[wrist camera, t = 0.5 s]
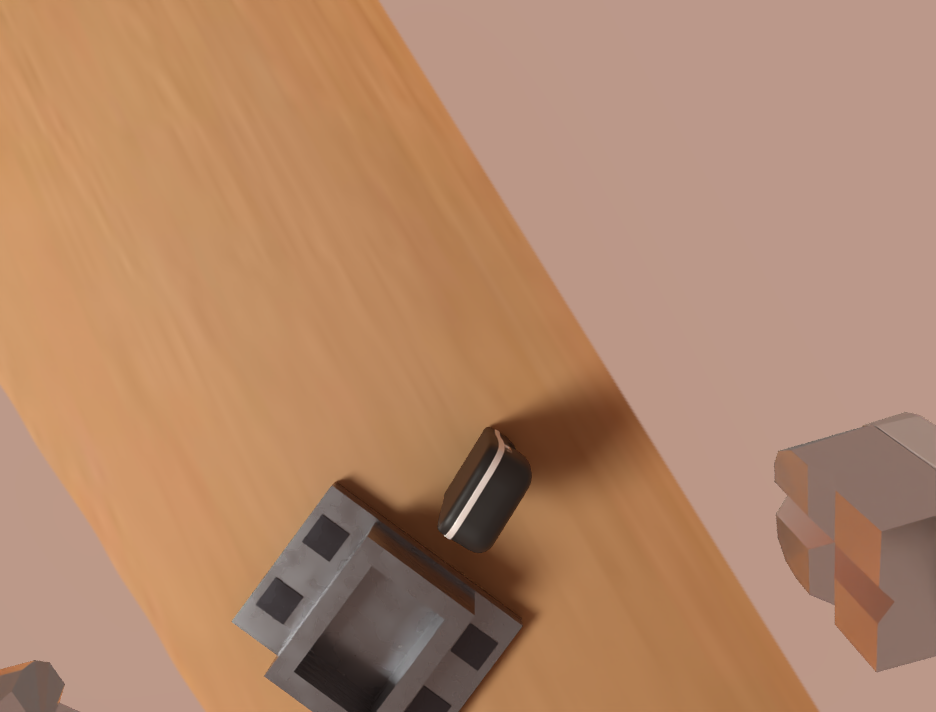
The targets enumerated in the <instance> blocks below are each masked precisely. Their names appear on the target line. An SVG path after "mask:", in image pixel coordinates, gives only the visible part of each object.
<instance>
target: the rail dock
mask: <svg viewBox="0 0 936 712" xmlns="http://www.w3.org/2000/svg"><path fill="white" fill-rule="evenodd" d="M232 622H233V623H234V624H235V625H237V626H238V627H239V628H241V629H242V630H244V631H245V632H246V633H248V634H249V635H250V636H252V637H253V638H254V639H256V640H257V641H259V642H260V643H261V644H263V645H264V646H265V647H267V648H268V649H269V650H271V651H272V652H274V653H275V654H276V655H277V656H276V658H275V659H274V661H273V663H272V664H271V666H270V667H269V669H268V671H267V672H266V674H265V675H264V676H265V677H266V678H267V679H269V680H270V681H271V682H273V683H274V684H276V685H277V686H278V687H280V688H281V689H282V690H284V691H285V692H286V693H288V694H289V695H291V696H292V697H293V698H295V699H296V700H297V701H299V702H300V703H301V704H303V705H304V706H306V707H307V708H308V709H310V710H311V711H312V712H459V710H460V709H461V708H462V706H463V705H464V704H465V702H466V701H467V700H468V698H469V697H470V696H471V694H472V693H473V692H474V690H475V689H476V688H477V686H478V685H479V684H480V682H481V681H482V680H483V678H484V677H485V676H486V674H487V673H488V672H489V670H490V669H491V668H492V666H493V665H494V664H495V662H496V661H497V660H498V658H499V657H500V655H501V654H502V653H503V651H504V650H505V649H506V647H507V646H508V645H509V643H510V642H511V641H512V639H513V638H514V637H515V635H516V634H517V633H518V631H519V630H520V629H521V627H522V626H523V625H522V618H520V617H519V616H518V615H516V614H515V613H514V612H512V611H511V610H510V609H508V608H507V607H505V606H504V605H503V604H501V603H500V602H499V601H497V600H496V599H495V598H493V597H492V596H490V595H489V594H488V593H486V592H485V591H484V590H482V589H481V588H480V587H478V586H477V585H476V584H474V583H473V582H471V581H470V580H469V579H467V578H466V577H465V576H463V575H462V574H461V573H459V572H458V571H456V570H455V569H454V568H452V567H451V566H450V565H448V564H447V563H446V562H444V561H443V560H442V559H440V558H439V557H437V556H436V555H435V554H433V553H432V552H431V551H429V550H428V549H427V548H425V547H424V546H422V545H421V544H420V543H418V542H417V541H416V540H414V539H413V538H412V537H410V536H409V535H408V534H406V533H405V532H403V531H402V530H401V529H399V528H398V527H397V526H395V525H394V524H393V523H391V522H390V521H388V520H387V519H386V518H384V517H383V516H382V515H380V514H379V513H378V512H376V511H375V510H374V509H372V508H371V507H369V506H368V505H367V504H365V503H364V502H363V501H361V500H360V499H359V498H357V497H356V496H354V495H353V494H352V493H350V492H349V491H348V490H346V489H345V488H344V487H342V486H341V485H340V484H338V483H337V482H335V483H334V484H333V485H332V486H331V487H330V489H329V490H328V491H327V493H326V494H325V495H324V497H323V498H322V499H321V501H320V502H319V503H318V505H317V506H316V508H315V509H314V510H313V512H312V513H311V514H310V516H309V517H308V518H307V520H306V521H305V523H304V524H303V525H302V527H301V528H300V529H299V531H298V532H297V533H296V535H295V536H294V537H293V539H292V540H291V542H290V543H289V544H288V546H287V547H286V548H285V550H284V551H283V552H282V554H281V555H280V556H279V558H278V559H277V561H276V562H275V563H274V565H273V566H272V567H271V569H270V570H269V571H268V573H267V574H266V576H265V577H264V578H263V580H262V581H261V582H260V584H259V585H258V586H257V588H256V589H255V590H254V592H253V593H252V595H251V596H250V597H249V599H248V600H247V601H246V603H245V604H244V605H243V607H242V608H241V610H240V611H239V612H238V614H237V615H236V616H235V618H234V619H233V620H232Z"/></svg>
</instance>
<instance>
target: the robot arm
mask: <svg viewBox="0 0 936 712" xmlns="http://www.w3.org/2000/svg"><path fill="white" fill-rule="evenodd" d="M774 469H775V470H774V471H775V483H776V484H777V485H778V486H779V487H780V488H781V489H782V490H783V491H784V492H785V493H786V494H787V497H786V499H785V500H784V502H783V503H782V505H781V507H780V508H779V510H778V511H777V513H776V521H777V533H778V540H779V542H780V545H781V548H782V551H783V554H784V557H785V560H786V562H787V564H788V565H789V567H790V569H791V571H792V572H793V574H794V576H795V577H796V579H797V580H798V581H799V583H800V584H801V585H802V586H803V587H804V589H805V590H806V591H807V592H808V593H809V595H812V596H814V597H817V598H819V599H821V600H824V601H826V602H829V603H831V604H833V605H835V625H836V626H837V628H838V629H839V630H840V631H841V632H842V633H843V634H844V636H845V637H846V638H847V639H848V640H849V641H850V643H851V644H852V645H853V646H854V647H855V648H856V650H857V651H858V652H859V653H860V654H861V655H862V656H863V658H864V659H865V660H866V661H867V662H868V663H869V665H870V666H871V667H872V668H873V669H874V670H875V672H880V671H883V670H887V669H891V668H894V667H898V666H901V665H905V664H909V663H912V662H916V661H920V660H924V659H927V658H931V657H934V656H936V425H934V424H933V423H931V422H930V421H928V420H927V419H925V418H924V417H922V416H920V415H917V414H912V413H907V412H904V413H901V414H898V415H895V416H892V417H888V418H885V419H882V420H878V421H875V422H872V423H869V424H866V425H863V426H862V427H861V428H857V429H853V430H850V431H846V432H843V433H839V434H836V435H832V436H829V437H826V438H822V439H818V440H815V441H812V442H808V443H805V444H801V445H798V446H794V447H791V448H788V449H784V450H780V451H778V454H777V457H776V460H775V463H774ZM64 686H65V684H64V682H63V681H62V679H61V678H60V677H59V675H58V674H57V672H56V671H55V670H54V668H53V667H52V665H51V664H50V663H49V662H43V661H36V660H34V661H30V662H26V663H22V664H18V665H15V666H11V667H7V668H3V669H0V712H79V711H77V710H75V709H72V708H70V707H68V706H66V705H63V704H61V703H60V699H61V696H62V693H63V689H64Z"/></svg>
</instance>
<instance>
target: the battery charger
mask: <svg viewBox="0 0 936 712" xmlns="http://www.w3.org/2000/svg"><path fill="white" fill-rule="evenodd" d="M531 478H532V472H531V468H530V464H529V462H528V460H527V459H526V458H525V456H523V455H522V454H521V453H519V452H518V451H516V450H515V447H514V445H513V444H512V442H511V441H510V440H509V439H508V438H507V437H505V436H504V435H502V434H501V433H500V432H499V431H498V430H496V429H495V430H494V429H492V428H490V427H487V428H485V429H484V431H483V433H482V434H481V436H480V437H479V439H478V441H477V442H476V444H475V445H474V447H473V449H472V450H471V452H470V453H469V455H468V457H467V458H466V460H465V462H464V463H463V465H462V466H461V468H460V470H459V471H458V473H457V475H456V476H455V478H454V479H453V481H452V483H451V484H450V486H449V488H448V489H447V491H446V492H445V495H444V500H443V504H442V508H441V512H440V516H439V520H438V530H439V532H441V533H442V534H444V537H446V538H448V539H449V540H450V539H452V540H454V541H455V542H457V543H458V544H460V545H462V546H463V547H465V548H467V549H468V550H470V551H472V552H475V553H482V552H485V551H487V550H488V549H490V548H491V547H492V546H493V544H494V543H495V541H496V539H497V538H498V536H499V535H500V533H501V531H502V530H503V528H504V527H505V525H506V524H507V522H508V520H509V519H510V517H511V516H512V514H513V512H514V511H515V509H516V507H517V506H518V504H519V503H520V501H521V499H522V498H523V496H524V494H525V493H526V491H527V489H528V488H529V486H530V483H531Z"/></svg>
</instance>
